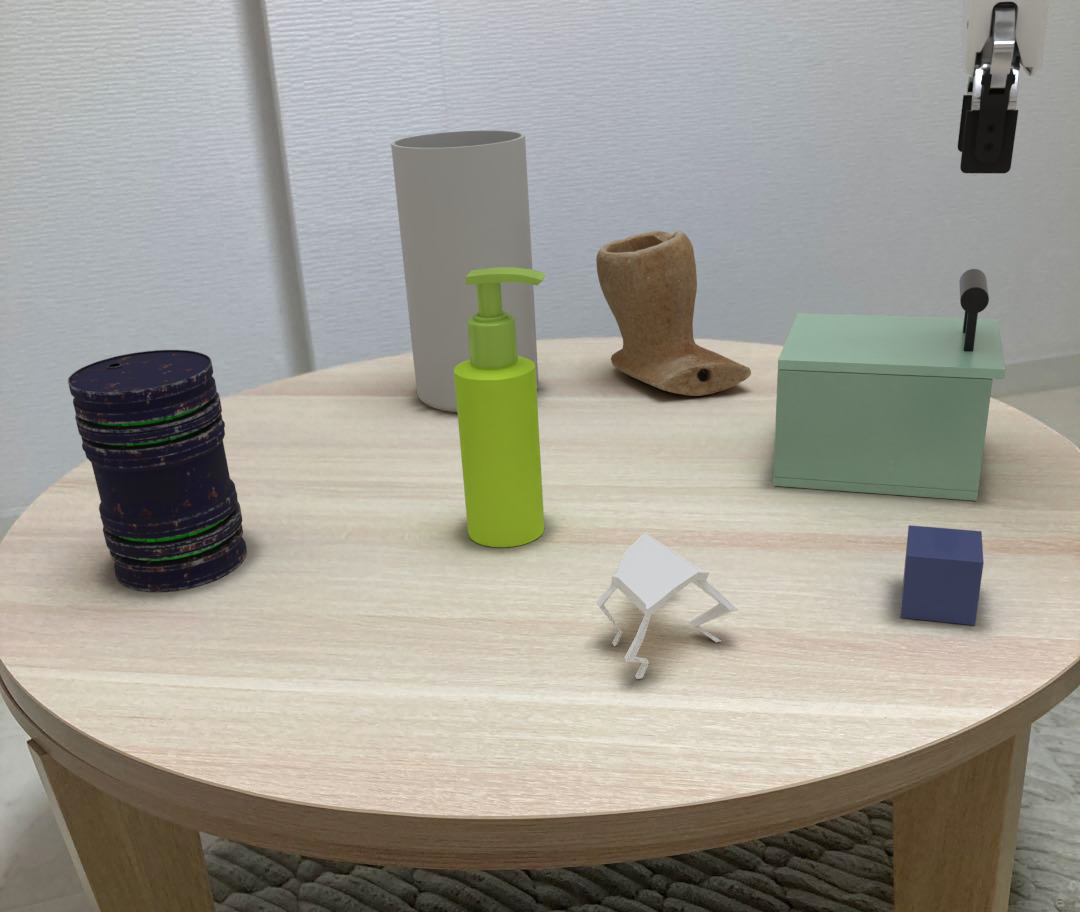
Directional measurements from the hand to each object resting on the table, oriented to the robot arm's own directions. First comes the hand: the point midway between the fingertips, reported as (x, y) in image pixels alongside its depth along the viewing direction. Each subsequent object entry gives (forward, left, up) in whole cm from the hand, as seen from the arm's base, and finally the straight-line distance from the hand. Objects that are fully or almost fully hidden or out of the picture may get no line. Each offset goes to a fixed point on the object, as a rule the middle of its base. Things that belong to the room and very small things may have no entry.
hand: (981, 161), depth 82 cm
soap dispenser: (+31, +17, -25) cm, 43 cm away
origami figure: (+17, +29, -25) cm, 42 cm away
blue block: (0, +22, -25) cm, 33 cm away
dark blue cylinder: (+54, +27, -25) cm, 66 cm away
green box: (+5, -2, -25) cm, 25 cm away
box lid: (+5, -2, -15) cm, 16 cm away
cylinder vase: (+45, -13, -25) cm, 54 cm away
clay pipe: (+27, -20, -25) cm, 42 cm away
